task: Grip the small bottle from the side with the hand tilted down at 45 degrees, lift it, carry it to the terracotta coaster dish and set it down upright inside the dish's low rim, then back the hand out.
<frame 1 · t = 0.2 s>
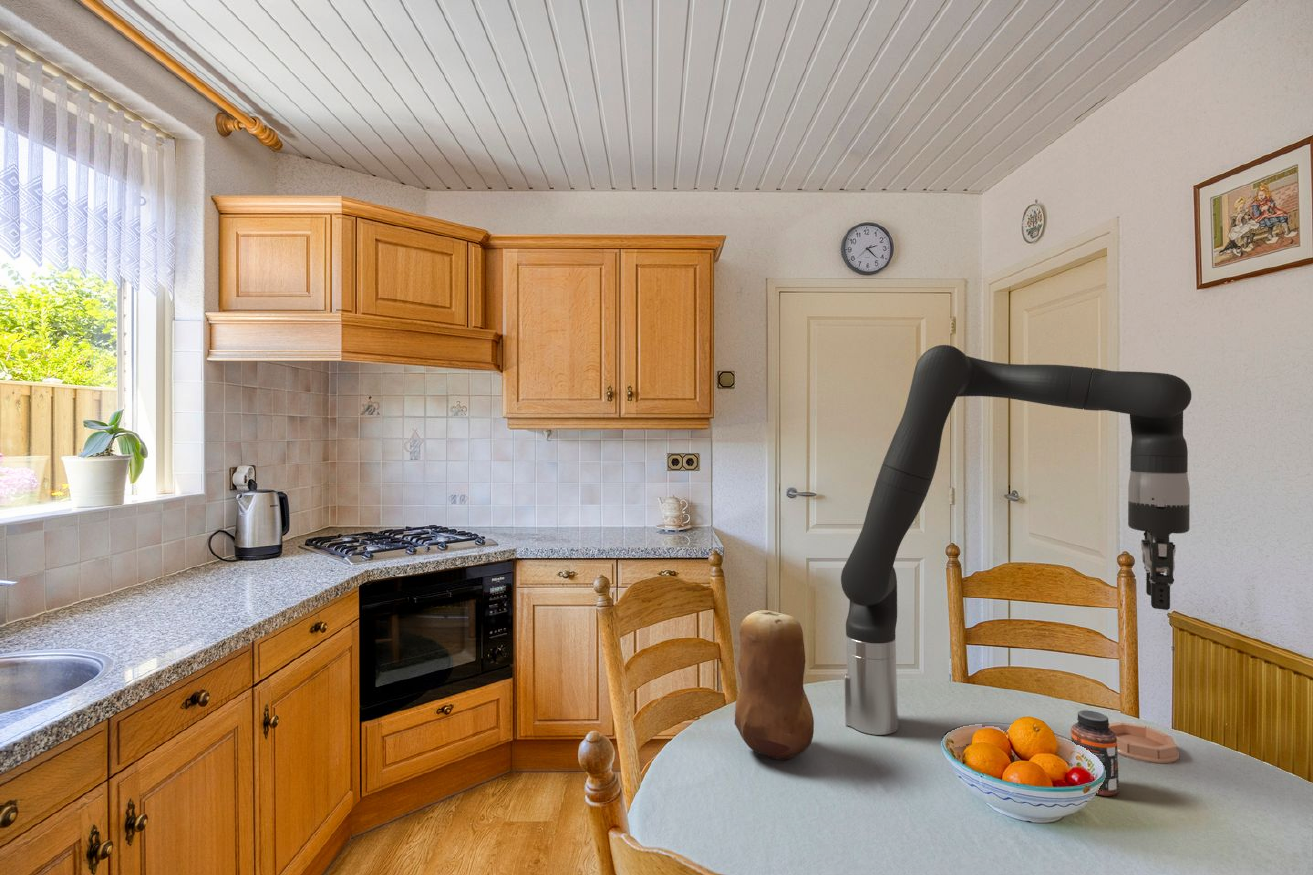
hand: (1157, 602, 96), 29 cm above the table, tool pointing down, fingers open, 8 cm apart
coaster dish: (1138, 747, 108), on the table
supplement bottle: (1095, 788, 96), on the table
butternut squash: (774, 754, 108), on the table
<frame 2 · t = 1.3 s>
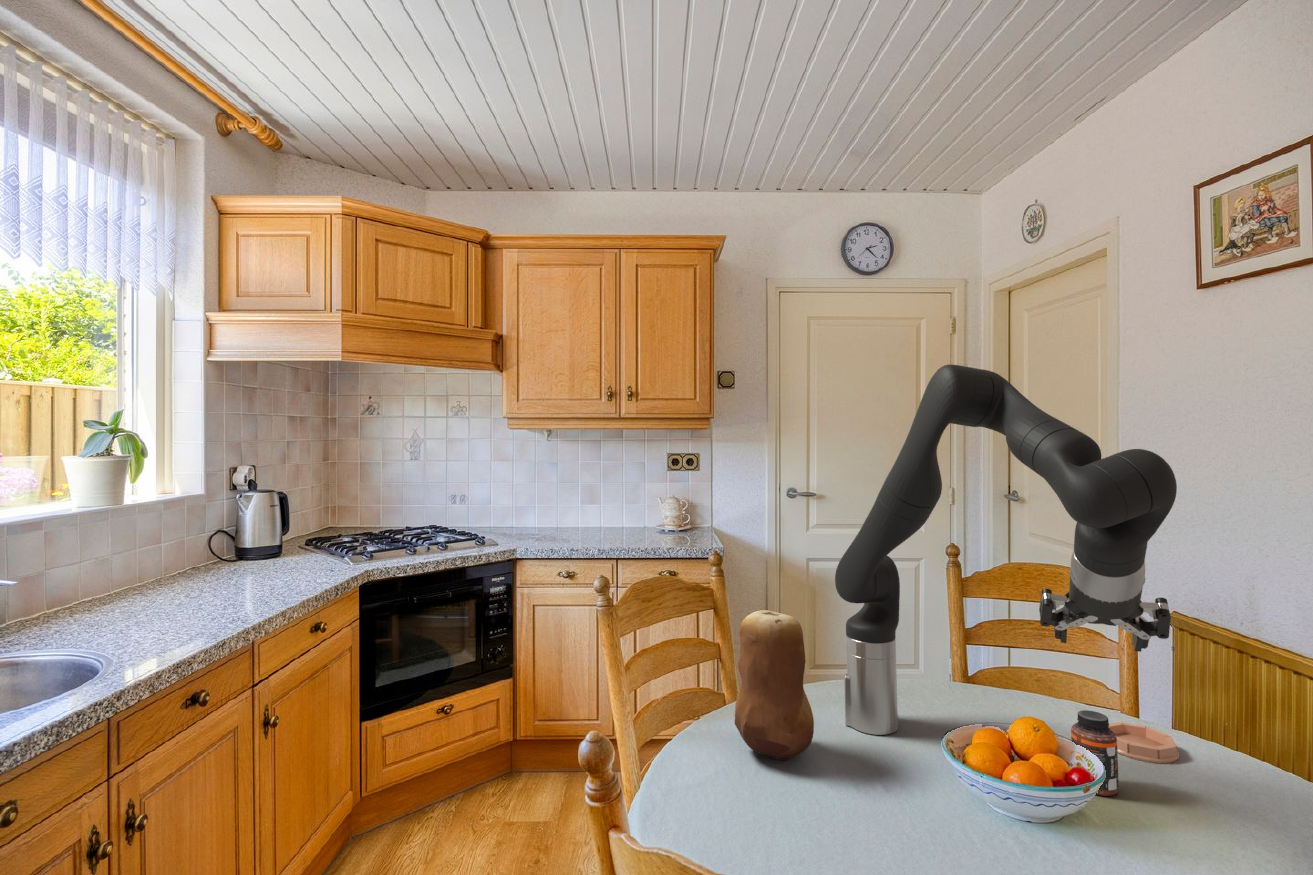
hand: (1098, 641, 87), 26 cm above the table, tool tilted 45°, fingers open, 8 cm apart
nothing on the table moved.
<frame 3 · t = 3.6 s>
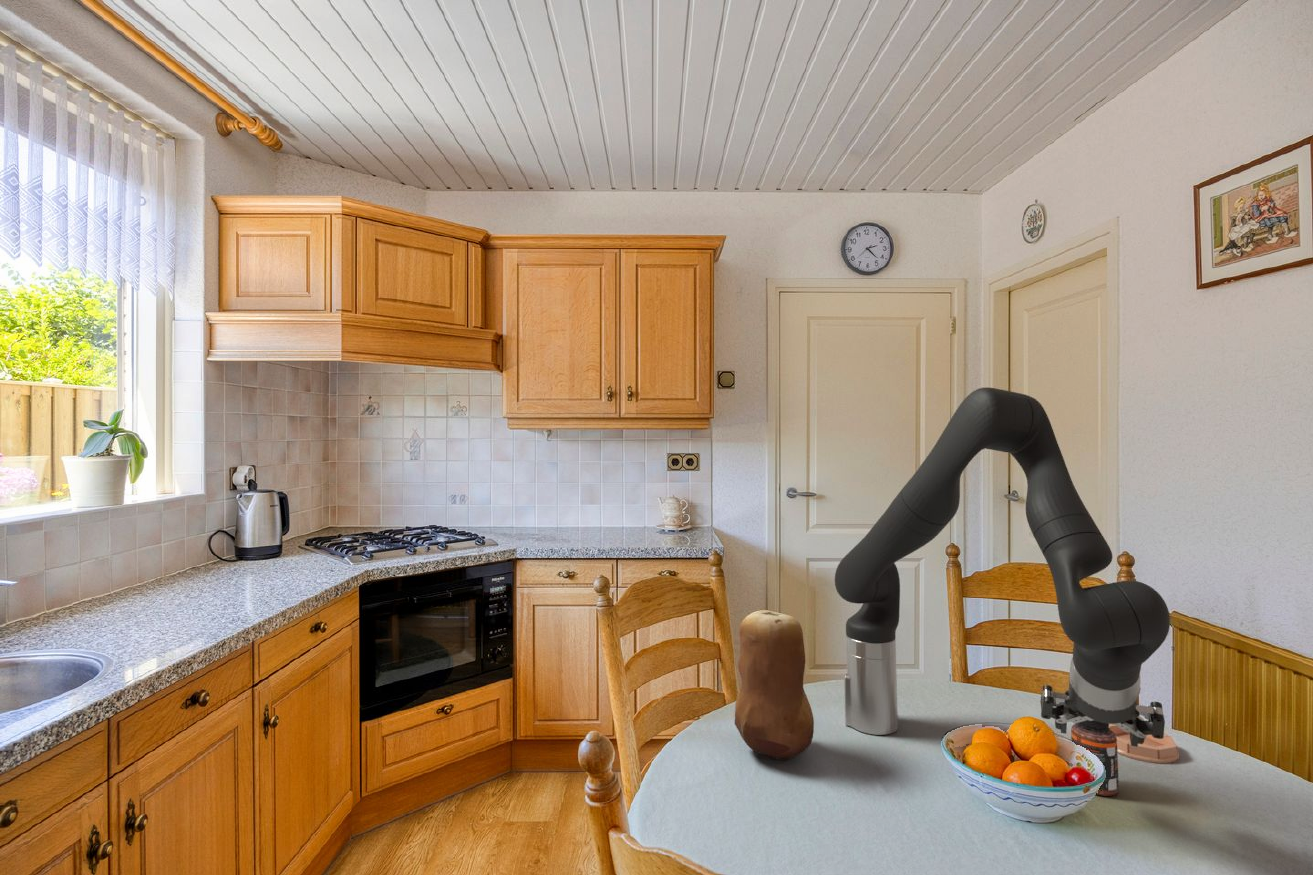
hand: (1097, 733, 91), 11 cm above the table, tool tilted 45°, fingers open, 8 cm apart
nothing on the table moved.
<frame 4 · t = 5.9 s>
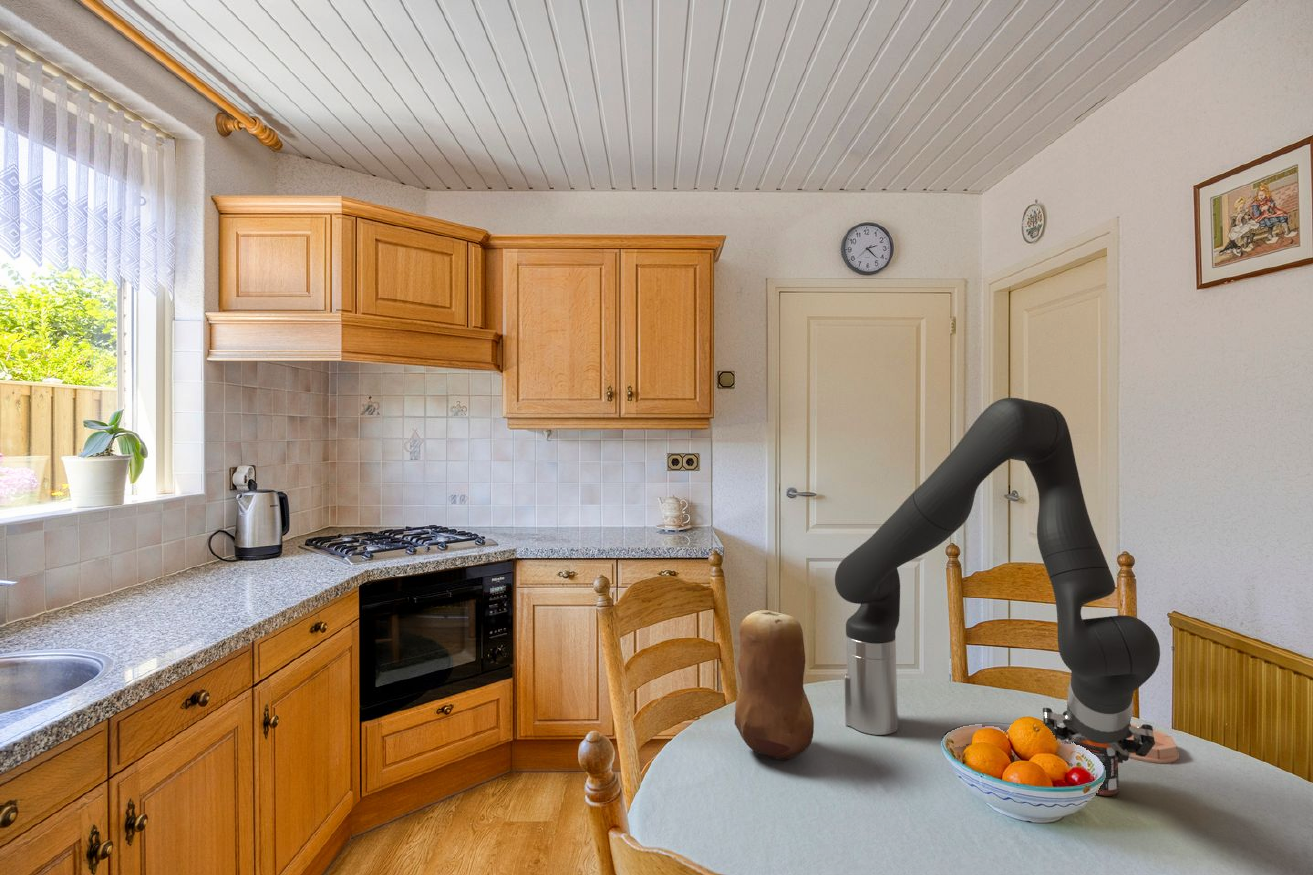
hand: (1092, 751, 97), 5 cm above the table, tool tilted 45°, fingers closed on supplement bottle, 6 cm apart
supplement bottle: (1095, 788, 96), on the table, touching gripper
everything else where it was.
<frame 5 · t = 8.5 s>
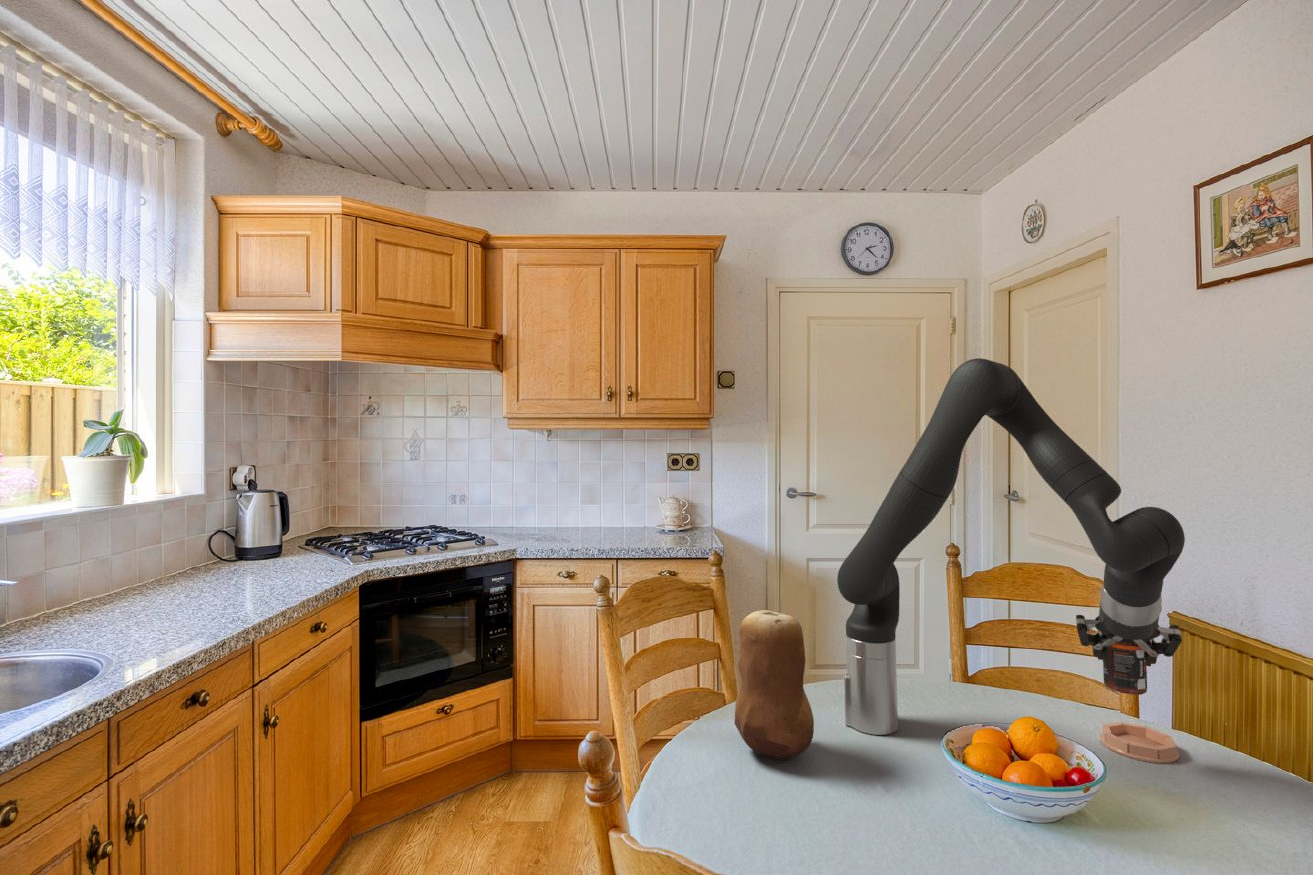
hand: (1122, 657, 105), 17 cm above the table, tool tilted 45°, fingers closed on supplement bottle, 6 cm apart
supplement bottle: (1125, 690, 104), point 12 cm above the table, touching gripper
everything else where it was.
when the fingers open (7 cm above the table, at t = 11.5 s): supplement bottle drops 1 cm, resting on coaster dish.
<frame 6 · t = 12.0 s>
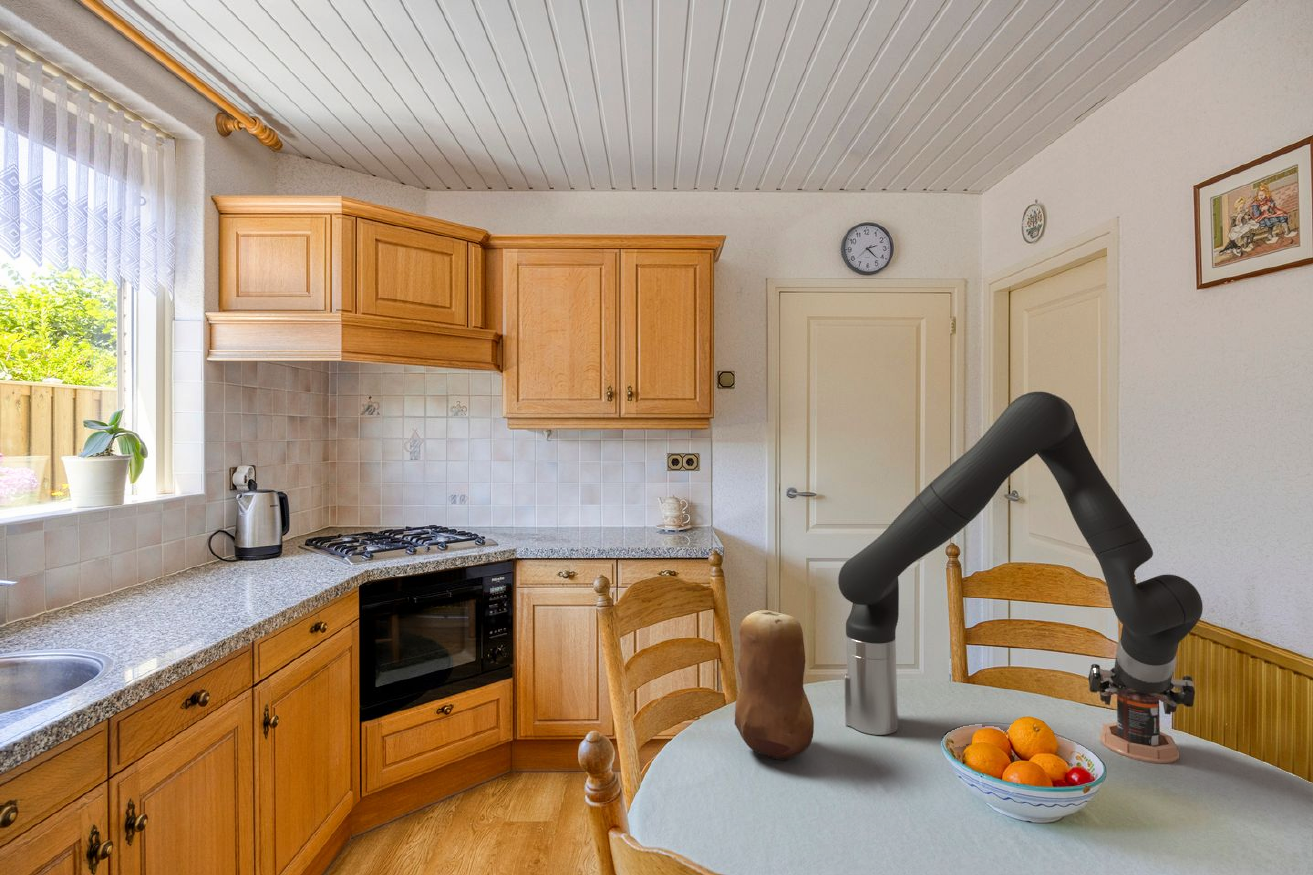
hand: (1135, 704, 109), 7 cm above the table, tool tilted 45°, fingers open, 8 cm apart
supplement bottle: (1138, 745, 108), resting on coaster dish
everything else where it was.
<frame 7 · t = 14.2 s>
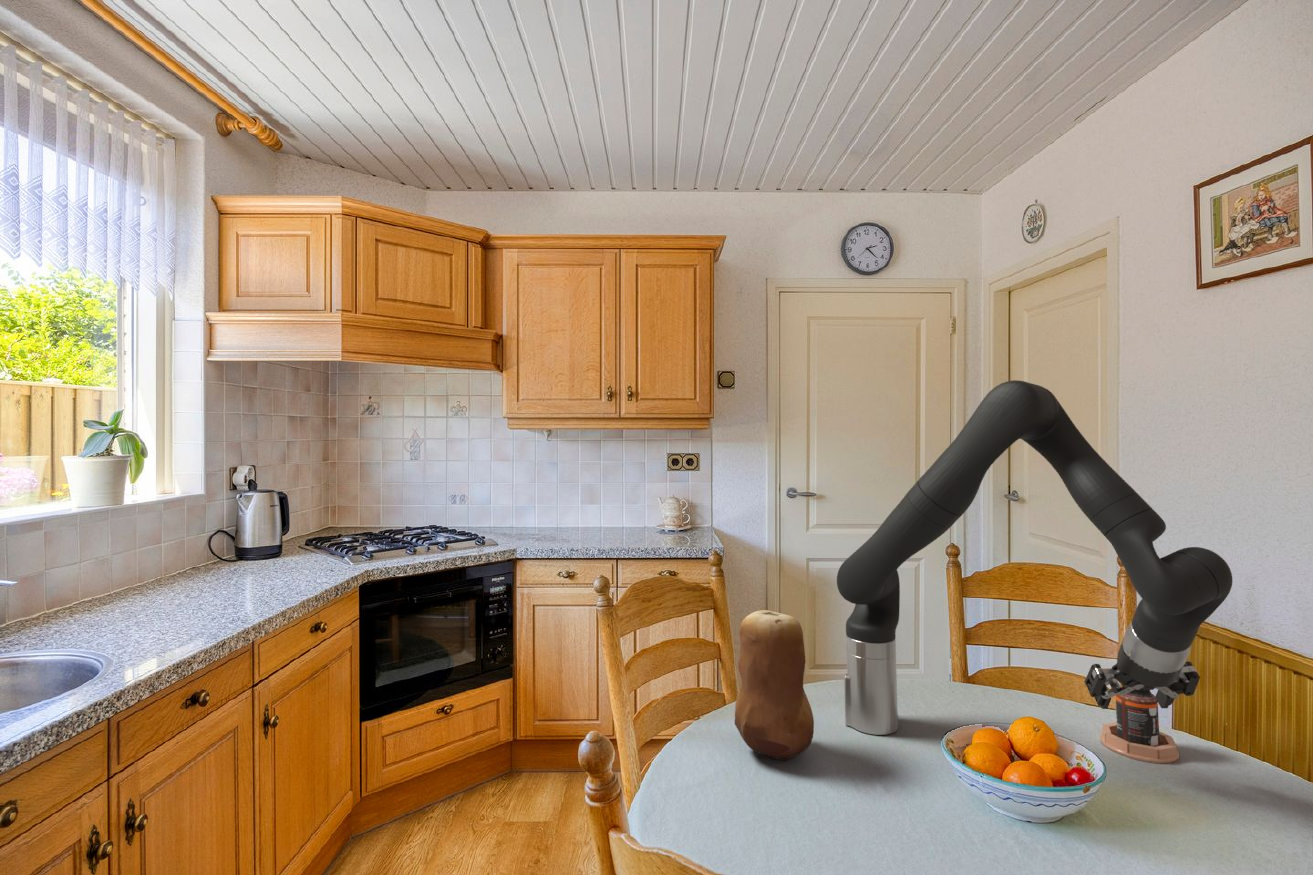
hand: (1130, 703, 101), 11 cm above the table, tool tilted 40°, fingers open, 8 cm apart
nothing on the table moved.
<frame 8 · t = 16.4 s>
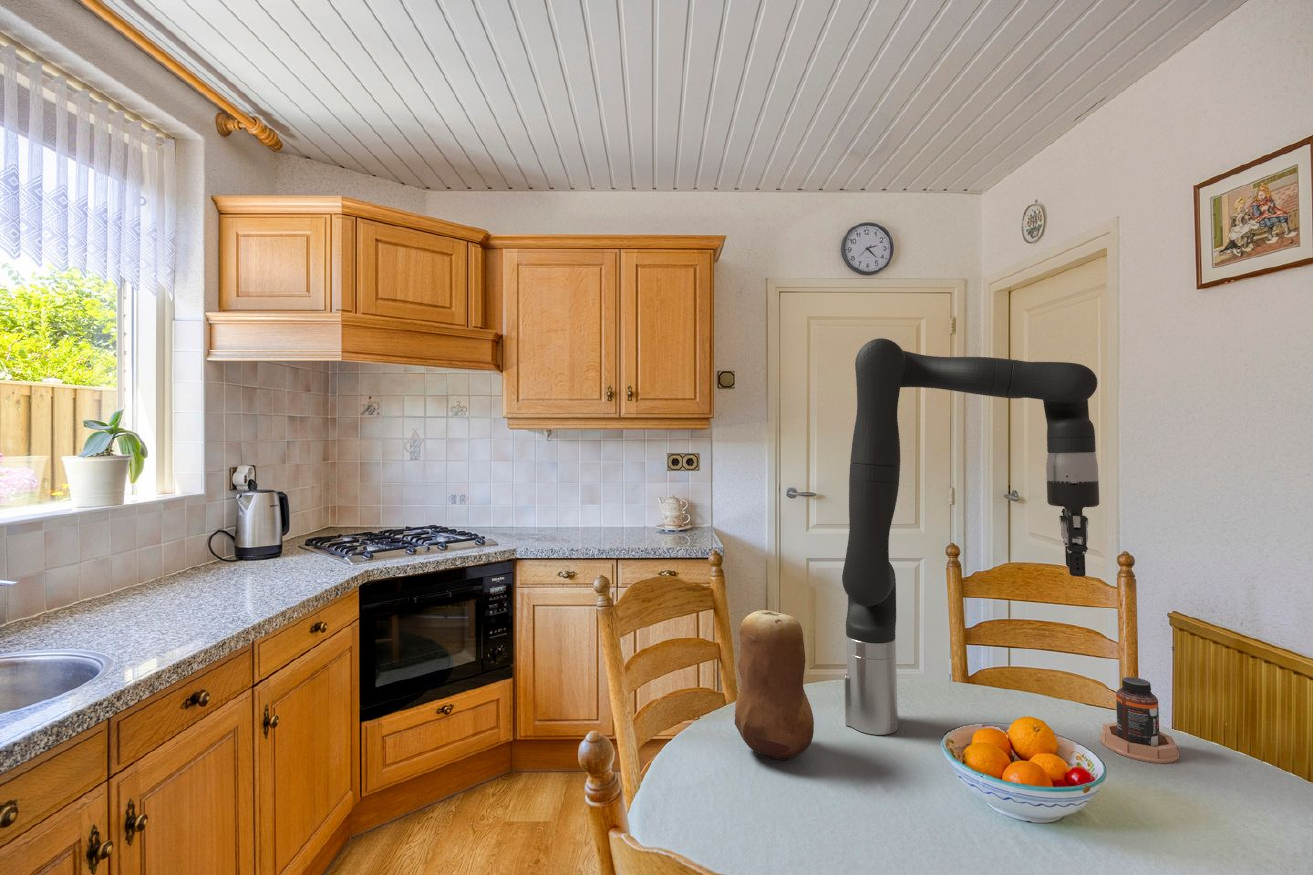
hand: (1075, 571, 106), 32 cm above the table, tool pointing down, fingers open, 8 cm apart
nothing on the table moved.
at the end: supplement bottle 0.2 cm from the coaster dish (horizontally); supplement bottle tilted 0°; supplement bottle resting on coaster dish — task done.
